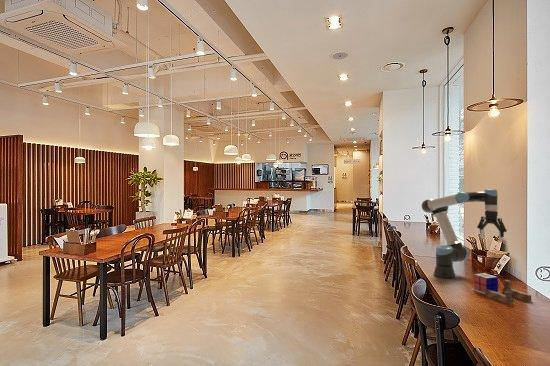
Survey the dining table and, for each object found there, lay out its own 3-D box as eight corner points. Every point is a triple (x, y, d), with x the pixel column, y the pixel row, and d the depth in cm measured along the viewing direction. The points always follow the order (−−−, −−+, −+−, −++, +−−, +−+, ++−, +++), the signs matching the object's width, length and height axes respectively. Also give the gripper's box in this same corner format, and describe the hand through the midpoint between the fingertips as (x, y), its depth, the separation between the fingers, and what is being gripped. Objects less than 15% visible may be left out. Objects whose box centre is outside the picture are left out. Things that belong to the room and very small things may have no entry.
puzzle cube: (486, 293, 202) (486, 278, 202) (473, 288, 211) (473, 274, 211) (498, 291, 205) (498, 277, 205) (484, 287, 214) (484, 272, 214)
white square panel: (472, 289, 212) (472, 288, 212) (484, 287, 215) (484, 286, 215) (487, 295, 201) (487, 293, 201) (499, 293, 204) (499, 292, 204)
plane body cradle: (485, 295, 200) (484, 282, 200) (505, 292, 205) (505, 279, 205) (510, 305, 185) (510, 290, 185) (531, 301, 190) (531, 287, 190)
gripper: (471, 209, 231) (471, 237, 231) (504, 212, 207) (505, 243, 207) (479, 209, 233) (479, 236, 233) (512, 211, 210) (513, 242, 210)
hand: (491, 240), depth 220 cm, fingers open, 13 cm apart
